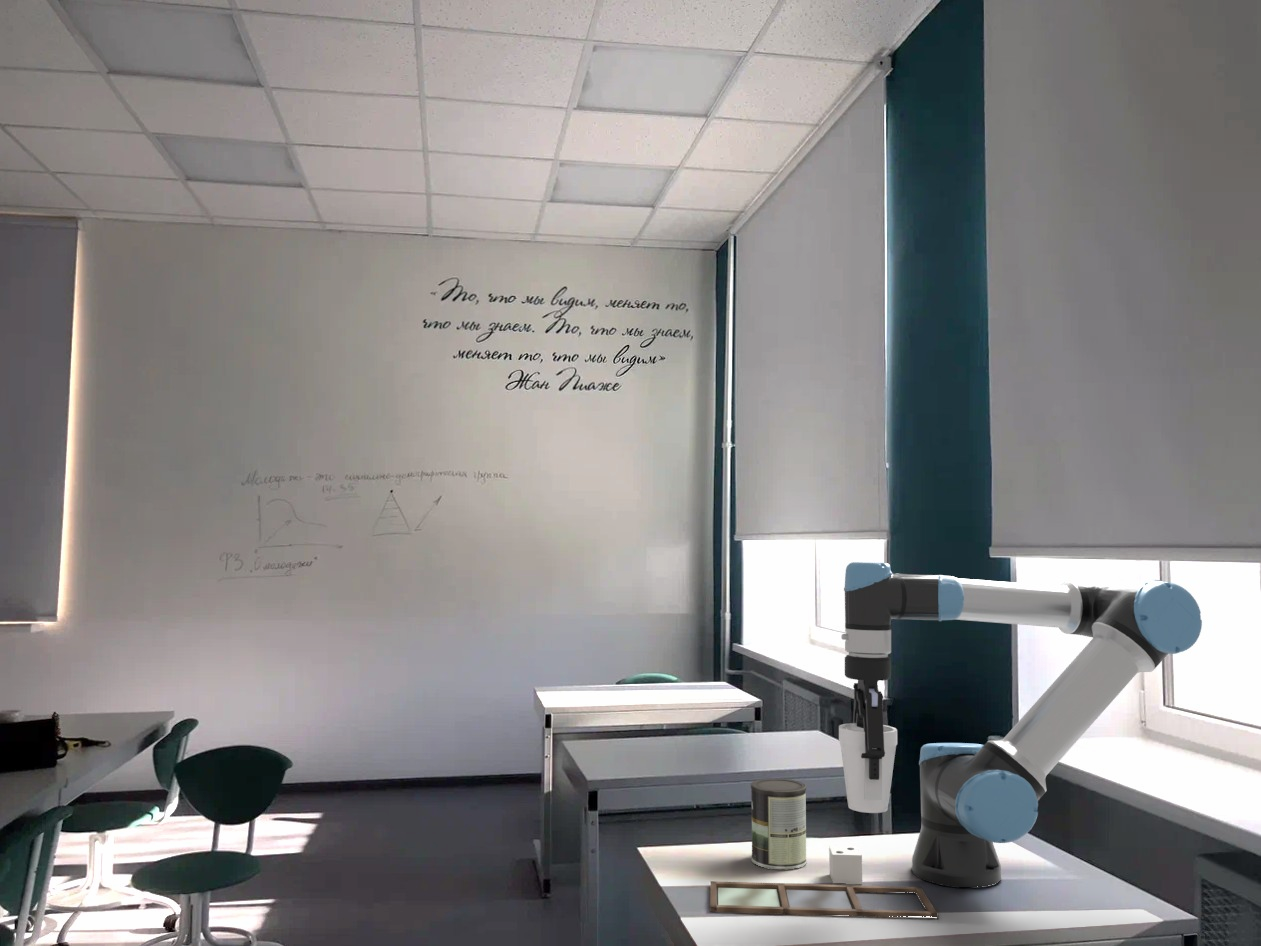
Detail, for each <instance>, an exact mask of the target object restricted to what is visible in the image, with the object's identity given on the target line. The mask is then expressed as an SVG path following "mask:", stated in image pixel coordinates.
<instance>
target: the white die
mask: <svg viewBox="0 0 1261 946" xmlns="http://www.w3.org/2000/svg"><path fill="white" fill-rule="evenodd" d="M828 847H829V848H828V851H829V852H828V853H829V877H830V876H831V877H830V879H831V882H832V881H833V882H832V884H833V883H846V884H845V885H861V884H862V885H863V855H862V853H861V851H860V848H859V847H858V846H838V845H837V846H836V845H835V846H833V845H829V846H828Z"/></svg>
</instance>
